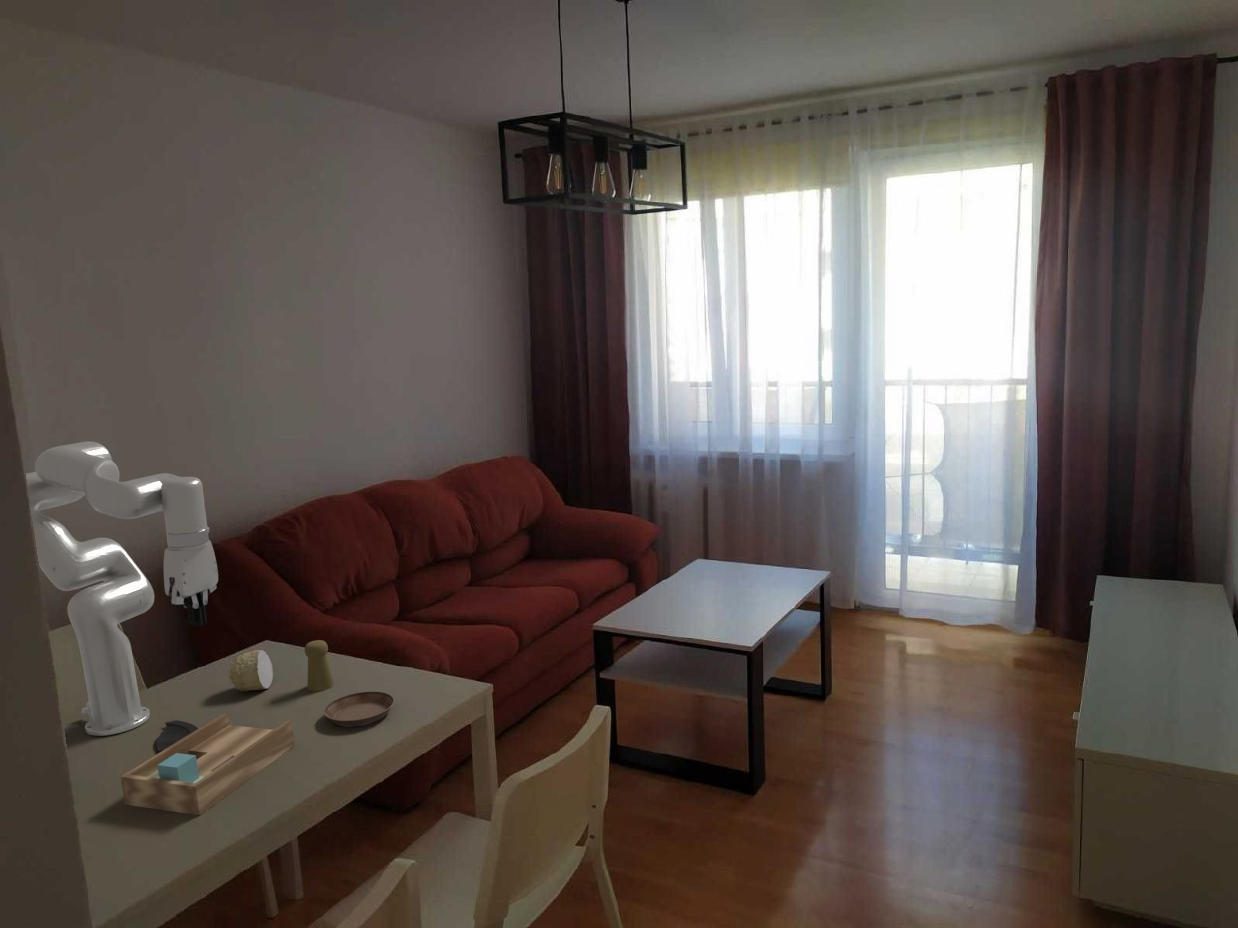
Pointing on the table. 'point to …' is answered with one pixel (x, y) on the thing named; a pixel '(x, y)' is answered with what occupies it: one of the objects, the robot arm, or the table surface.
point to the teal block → (179, 768)
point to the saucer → (359, 708)
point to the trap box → (207, 766)
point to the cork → (318, 666)
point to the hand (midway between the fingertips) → (198, 624)
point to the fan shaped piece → (173, 734)
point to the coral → (251, 671)
